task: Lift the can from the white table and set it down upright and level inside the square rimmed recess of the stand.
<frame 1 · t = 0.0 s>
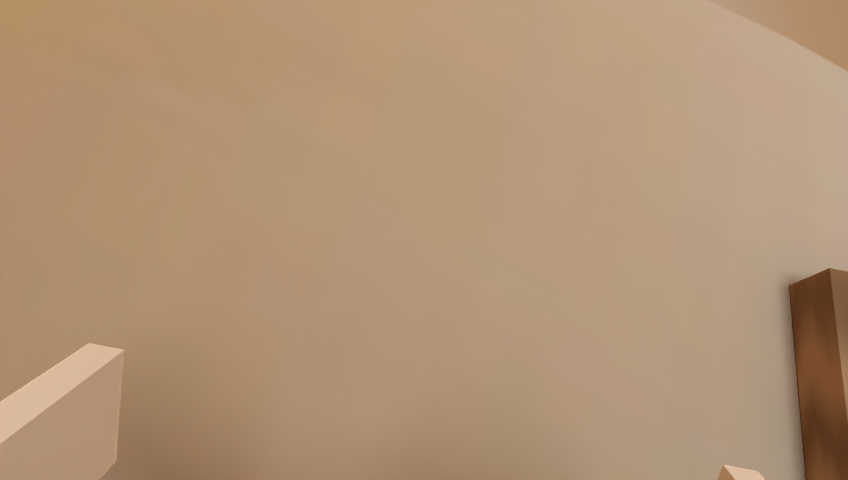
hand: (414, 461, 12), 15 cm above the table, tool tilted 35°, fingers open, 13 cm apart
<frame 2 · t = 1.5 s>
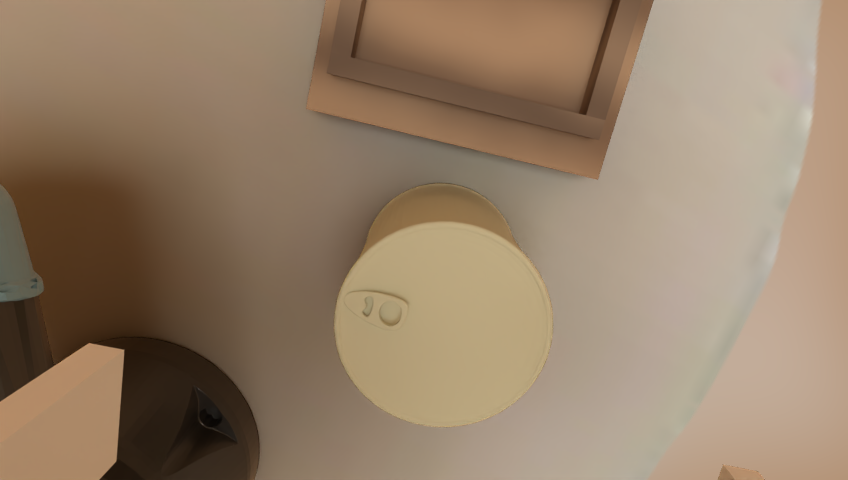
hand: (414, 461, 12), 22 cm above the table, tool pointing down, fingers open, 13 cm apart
can: (439, 256, 34), on the table
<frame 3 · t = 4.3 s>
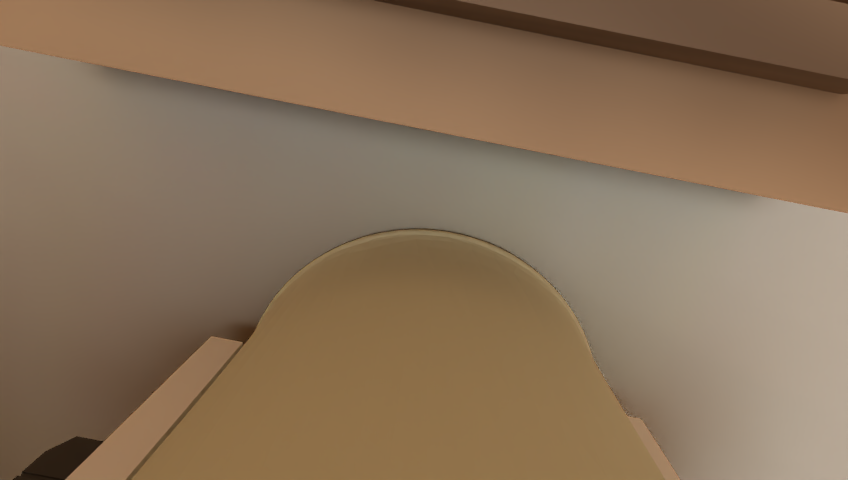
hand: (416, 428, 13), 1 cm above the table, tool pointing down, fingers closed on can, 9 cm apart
can: (419, 393, 15), on the table, touching gripper
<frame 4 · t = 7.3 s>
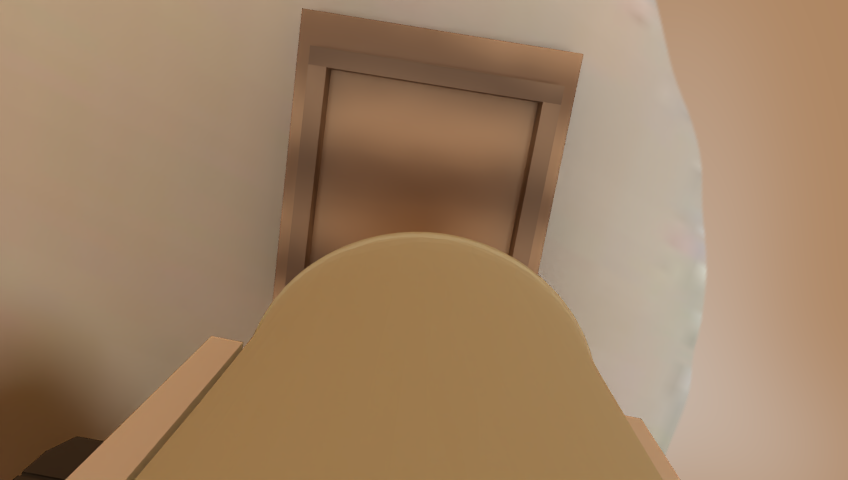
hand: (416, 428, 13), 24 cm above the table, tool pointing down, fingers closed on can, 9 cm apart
stand: (420, 183, 36), on the table
can: (419, 396, 15), point 22 cm above the table, touching gripper
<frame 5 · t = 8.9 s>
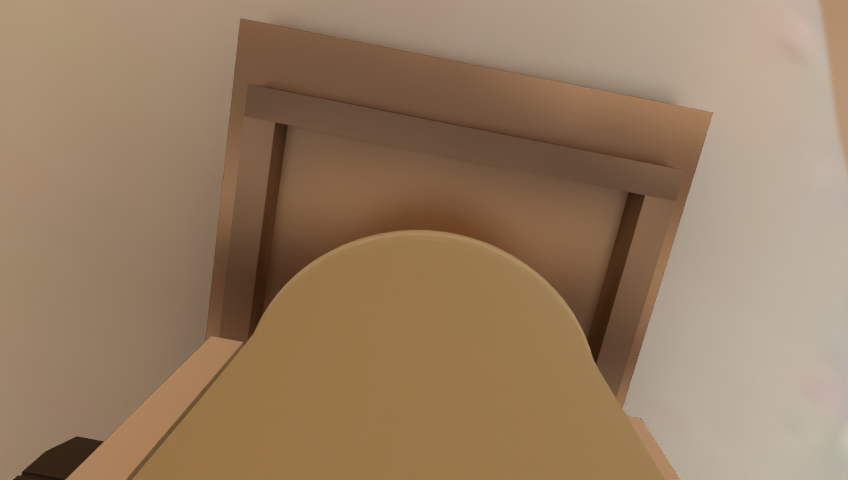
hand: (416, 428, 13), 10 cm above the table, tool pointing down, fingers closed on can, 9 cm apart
stand: (428, 290, 23), on the table
can: (419, 394, 15), point 9 cm above the table, touching gripper
when the fingers open (6 cm above the table, at t = 10.3 s): can drops 1 cm, resting on stand.
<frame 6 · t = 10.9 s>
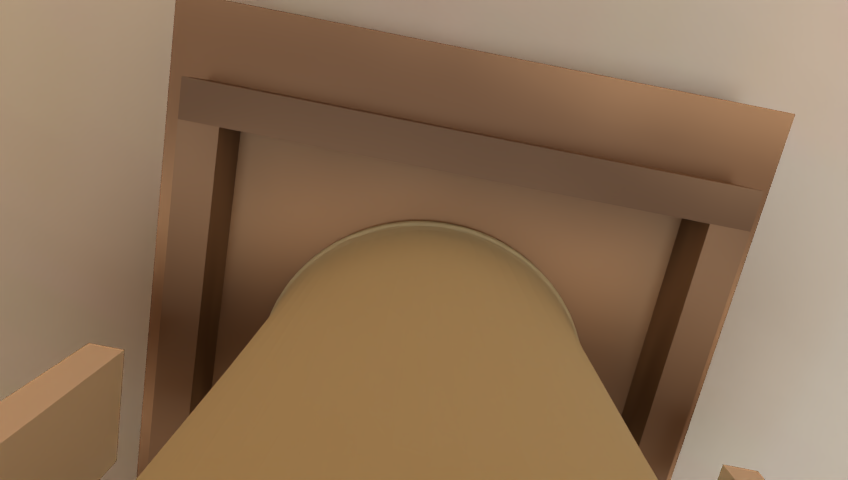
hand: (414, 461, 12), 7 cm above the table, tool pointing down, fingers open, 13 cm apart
stand: (424, 332, 19), on the table
can: (420, 371, 16), point 3 cm above the table, touching stand
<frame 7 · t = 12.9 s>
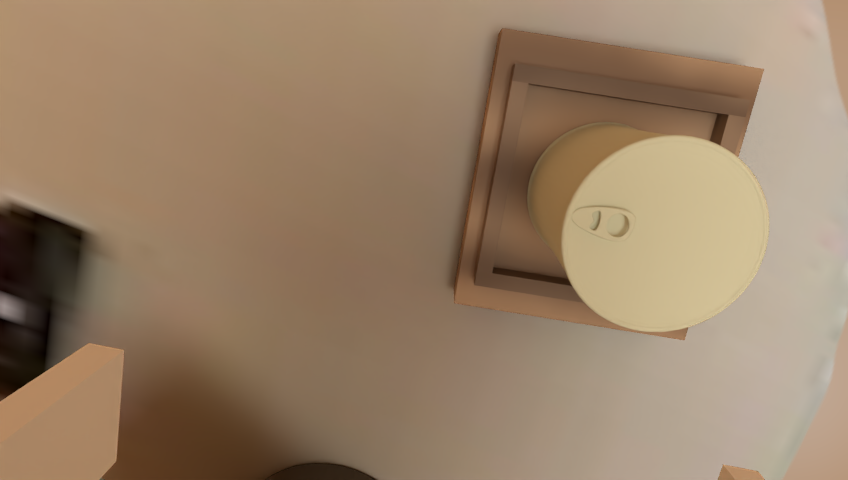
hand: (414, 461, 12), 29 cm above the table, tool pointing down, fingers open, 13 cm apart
stand: (588, 186, 39), on the table
can: (597, 194, 36), point 3 cm above the table, touching stand
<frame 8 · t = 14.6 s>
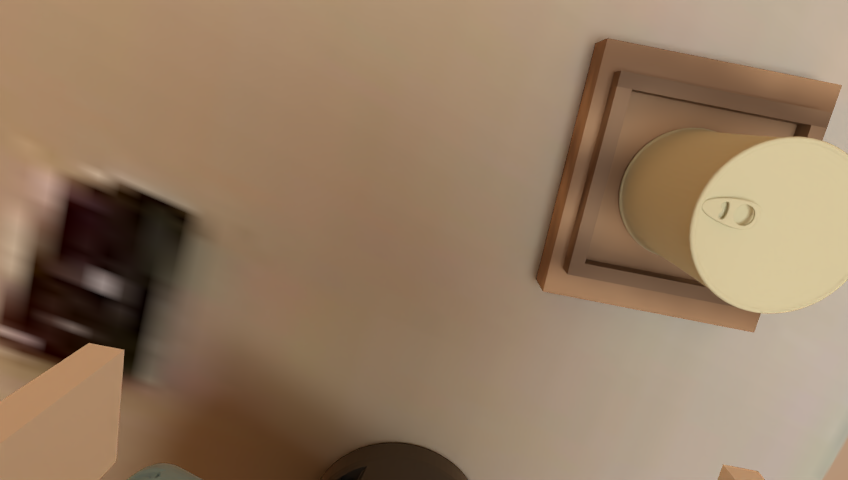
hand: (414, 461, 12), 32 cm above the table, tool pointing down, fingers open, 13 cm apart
stand: (668, 187, 42), on the table
can: (683, 194, 39), point 3 cm above the table, touching stand
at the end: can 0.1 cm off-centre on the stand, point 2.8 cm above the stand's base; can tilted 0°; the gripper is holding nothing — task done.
